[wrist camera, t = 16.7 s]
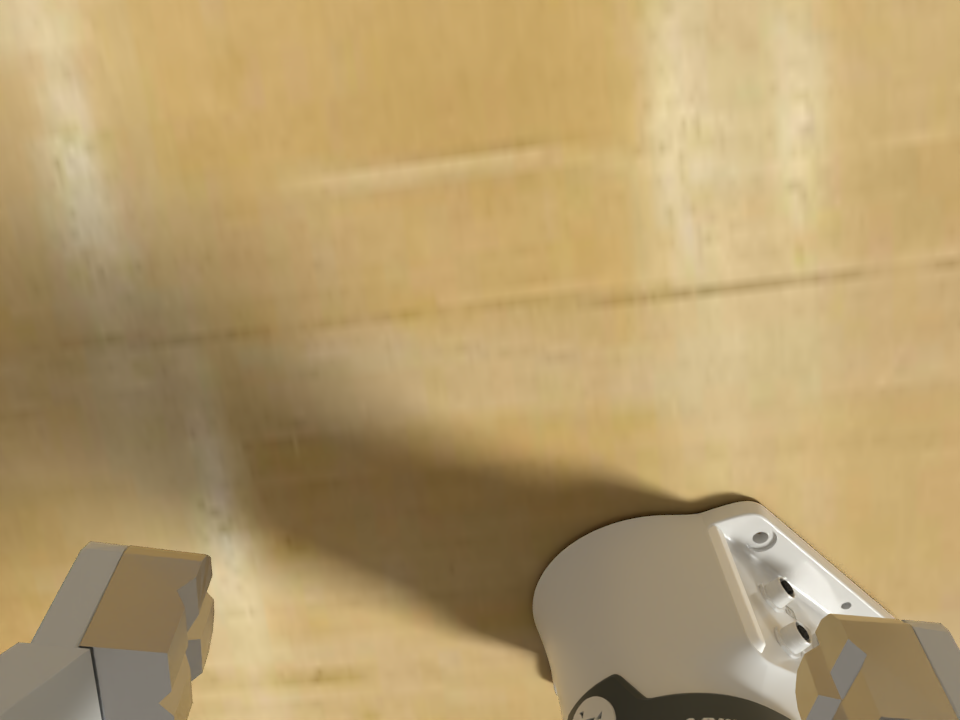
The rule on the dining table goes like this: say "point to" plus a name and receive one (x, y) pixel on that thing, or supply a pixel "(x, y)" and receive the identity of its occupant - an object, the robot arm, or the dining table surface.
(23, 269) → the dining table surface
